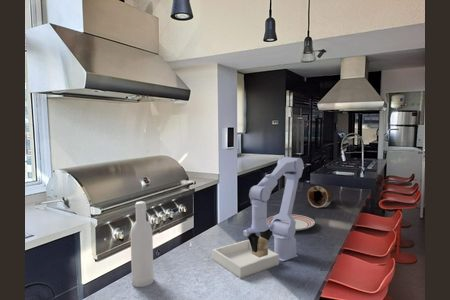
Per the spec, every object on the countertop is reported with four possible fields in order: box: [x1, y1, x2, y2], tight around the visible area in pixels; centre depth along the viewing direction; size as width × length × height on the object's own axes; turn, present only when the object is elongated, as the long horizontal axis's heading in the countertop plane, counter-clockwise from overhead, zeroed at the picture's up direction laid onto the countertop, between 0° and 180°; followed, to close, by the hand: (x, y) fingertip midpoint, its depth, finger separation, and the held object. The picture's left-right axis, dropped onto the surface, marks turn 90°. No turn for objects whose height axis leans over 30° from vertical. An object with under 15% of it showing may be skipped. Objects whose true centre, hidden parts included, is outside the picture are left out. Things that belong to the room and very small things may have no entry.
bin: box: [211, 238, 280, 280], centre depth 127 cm, size 20×20×4 cm
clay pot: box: [307, 185, 334, 209], centre depth 219 cm, size 15×15×25 cm
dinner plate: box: [267, 214, 316, 232], centre depth 173 cm, size 28×27×3 cm
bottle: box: [129, 200, 155, 288], centre depth 110 cm, size 8×8×30 cm
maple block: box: [252, 236, 269, 258], centre depth 118 cm, size 4×4×6 cm
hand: (259, 249), depth 119 cm, fingers closed on maple block, 4 cm apart
